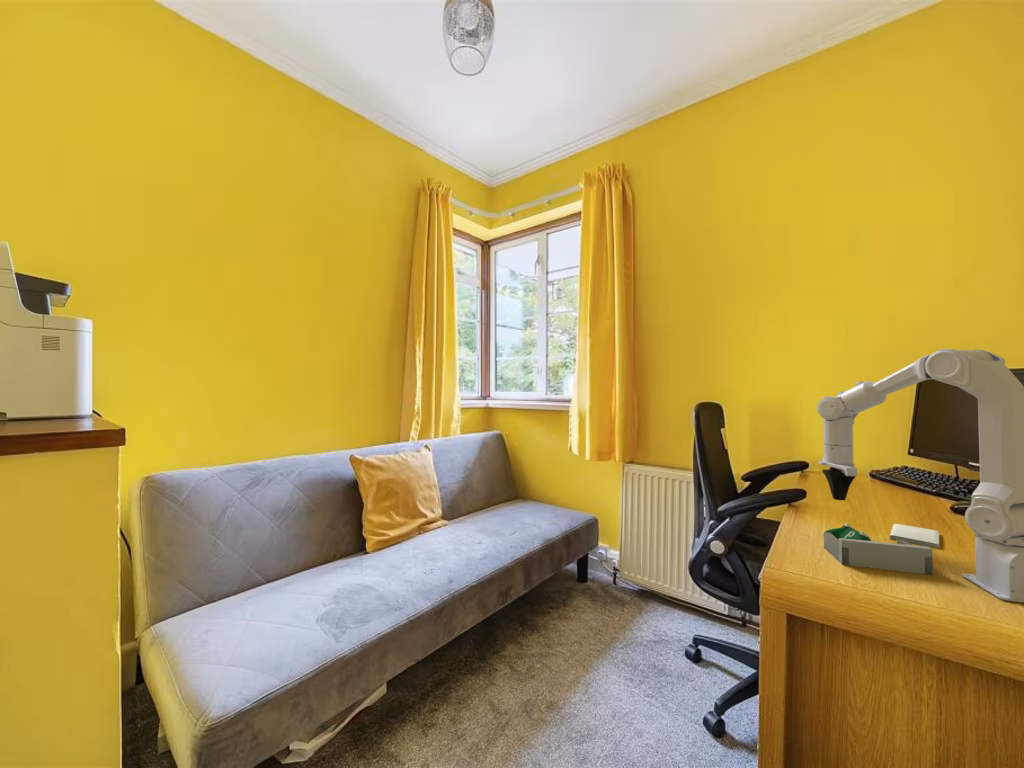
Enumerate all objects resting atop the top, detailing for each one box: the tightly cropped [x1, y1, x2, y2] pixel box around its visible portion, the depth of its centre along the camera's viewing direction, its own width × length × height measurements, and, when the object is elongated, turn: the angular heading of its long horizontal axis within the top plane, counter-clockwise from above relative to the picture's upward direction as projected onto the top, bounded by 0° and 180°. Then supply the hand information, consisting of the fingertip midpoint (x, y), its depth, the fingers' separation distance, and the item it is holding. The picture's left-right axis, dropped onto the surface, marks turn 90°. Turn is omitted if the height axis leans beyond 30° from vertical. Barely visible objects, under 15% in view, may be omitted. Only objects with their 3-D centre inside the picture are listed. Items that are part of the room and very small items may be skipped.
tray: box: [823, 531, 934, 576], centre depth 84 cm, size 9×14×5 cm, turn 70°
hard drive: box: [889, 523, 940, 550], centre depth 97 cm, size 2×8×12 cm
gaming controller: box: [824, 522, 872, 541], centre depth 92 cm, size 9×4×6 cm
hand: (839, 499), depth 100 cm, fingers closed
